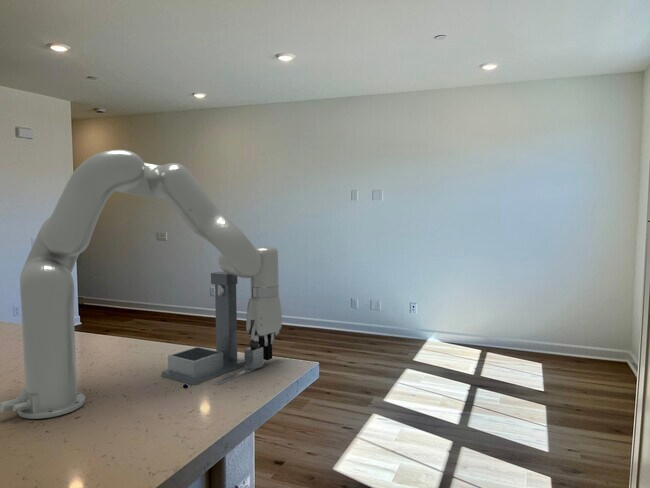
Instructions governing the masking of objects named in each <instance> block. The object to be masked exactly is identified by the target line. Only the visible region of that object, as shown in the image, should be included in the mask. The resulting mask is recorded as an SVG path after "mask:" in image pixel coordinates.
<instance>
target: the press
mask: <svg viewBox="0 0 650 488" xmlns="http://www.w3.org/2000/svg"><path fill="white" fill-rule="evenodd" d="M210 285H214V294H215V295H214V297H215V298H214V299H215V301H214V302H215V305H214V306H215V347H216V348H215V349H210V348H205V347H201V346H195V347H191V348H189V349H185V350H182V351H178V352H176V353H173V354H169V355H167V365H168V366H167V369H165V370H163V371H161V377H163V378H167V379H169V380H170V379H171V380H174V381H177V382H182V383H185V384H188V385H192V386H196V385H198V384H200V383H203V382H206V381H208V380H212V379H214V378H216V377H218V376H219V377H220V376H221V375H224V374H228V373H229V372H232V371H235V370H237V369H239V368H242V367H245V359H238V325H237V324H238V321H237V319H238V317H237V314H238V313H237V309H238V308H237V307H238V306H237V285H238V276H233V275H230V274H227V273H225V272H224V271H218V272H217V271H216V272H211V273H210ZM260 368H261V367H259V368H256V369H254V370H253V369H248V368H245V369H244V370H241V371H239V372H236V373H234V374H231V375H229V376H227V377H224V378H222V379H221V378H220V379H219V380H217V381H213V385H215V386H218V385H220V384H223V383H225V382H228V381H230V380H234V379H236V378H238V377H241V376H243V375H246V374H247V373H250V372H253V371H255V370H258V369H260Z"/></svg>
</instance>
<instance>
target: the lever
mask: <svg viewBox="0 0 650 488" xmlns="http://www.w3.org/2000/svg"><path fill="white" fill-rule="evenodd" d="M248 345H249V347H246V348H244V361H245V366H244V368H245V369H253V371H255V370H257V369H256V368H258V369H260V368H261V367H264V359H263V347H260V346H259V345H258V341H251V340H250V341H249V344H248ZM259 367H260V368H259ZM254 369H255V370H254Z"/></svg>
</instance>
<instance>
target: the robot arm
mask: <svg viewBox="0 0 650 488" xmlns="http://www.w3.org/2000/svg"><path fill="white" fill-rule="evenodd" d="M115 192H118V193H123V194H128V195H136V196H140V197H146V198H151V199H161V200H166V201H167V203H168V204H169V205H170V206H171V207H172V209H173V210H174V211H175V212H176V214H177V215H178V216H179V217H180V218H181V219H182V221H183V222H184V223H185V225H186V226H187V227H188V228H189V229H190V230H191V231H192V232H193V233H194V234H196V235H197V236H198V237H200V238H202V239H204V240H205V241H207V242H208V243H209V244H211V245H212V246H213V247H214V248H216V249H217V250H218V252H220V254H219V257H218V265H219V267H220V269H221V270H222V272H225V273H227V274H230V275H233V276H237V278H238V277H239V278H242V279H250V281H249V282H250V298H249V299H248V302H247V308H246V321H245V322H246V323H245V324H246V325H245V326H246V327H245V328H246V335H250V341H258V346H260V347H263V361H270V360H272V359H273V344H274V342H275V341H274V340H275V337H276V336H278V334H280V330H281V328H282V325H283V318H282V317H283V316H282V305H281V297H280V295H279V292H280V291H279V251H278V249H277V248H276V247H274V246H254V245H253V243H252V242H251V240H250V239H249V238H248V236H247V235H246V234H245V233H244V232H243V231H242V229H240V228H239V227H238V226H237V224H235V223H234V222H233V221H232V220H231V219H230V218H229V217H228V216H227V215H225V214H224V213H223V212H222V211H221V210H220V209H219V208H218V207H217V205H216V204H215V203H214V201H213V200H212V199H211V198H210V197H209V195H208V194H207V192H206V191H205V189H203V187H202V186H201V185H200V183H199V182H198V180H197V179H196V178H195V177H194V175H193V174H192V173H191V171H190V170H189V169H188V168H187V167H185V166H184V165H183V164H181V163H178V162H177V163H176V162H170V163H166V164H163V165H162V164H161V165H160V164H155V163H149V162H144V161H143V159H142V158H141V156H139V154H137V153H135V152H133V151H131V150H127V149H111V150H105V151H100V152H98V153H96V154H93V155H92V156H90V157H88V158H87V159H85V160H84V161H83V162H81V164H80V165H78V166H77V168H75V170H74V171H73V173H72V174H71V176H70V177H69V179H68V181H67V182H66V185H65V187H64V189H63V190H62V193H61V195H60V197H59V199H58V201H57V203H56V205H55V207H54V210H53V211H52V214H51V215H50V217H48V218H47V219H45V221H44V222H43V223H42V225H41V227H40V229H39V230H38V233H37V235H36V237H35V240H34V242H33V244H32V246H31V249H30V251H29V253H28V255H27V258H26V261H25V263H24V265H23V268H22V269H21V273H20V277H19V288H20V289H19V290H20V293H19V294H20V304H21V305H20V306H21V326H22V327H21V328H22V329H21V330H22V345H23V347H22V348H23V365H24V366H23V367H24V368H23V369H24V388H25V389H23V390H20V391H19V395H17V396H15V398H14V399H8V400H5V401H2V402H0V413H5V412H8V411H10V410H11V411H12V412H17V415H18V416H19V417H20V418H24V419H27V420H28V419H31V420H36V419H37V420H39V419H49V418H56V417H59V416H63V415H66V414H69V413H71V412H74V411H76V410H79V409H80V408H81V407H83V405H84V404H85V403H86V396H85V394H84V393H82V392H78V386H77V383H78V382H77V359H76V356H77V355H76V335H75V334H76V333H75V282H74V277H73V275H72V272H73V270H74V267H75V265H76V263H77V261H78V258H79V256H80V254H81V253H83V252H85V250H86V249H87V248H88V246H89V245H90V243H91V239H92V236H93V233H94V230H95V228H96V225H97V223H98V221H99V217H100V216H101V213H102V211H103V209H104V207H105V205H106V203H107V201H108V199H109V198H110V197H111V195H113V194H114V193H115Z"/></svg>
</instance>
